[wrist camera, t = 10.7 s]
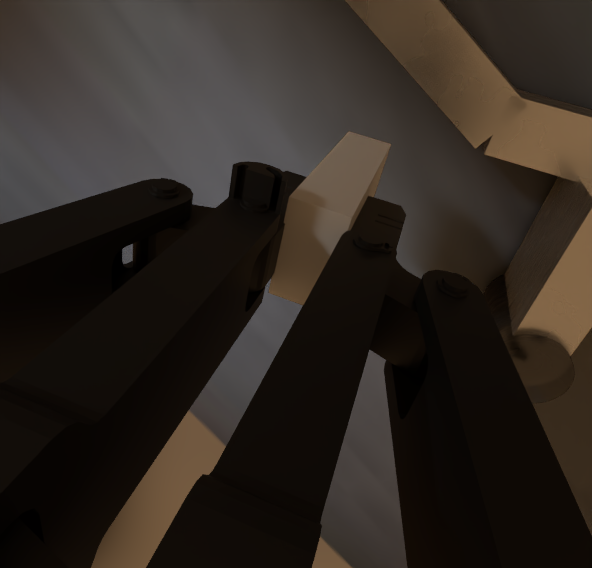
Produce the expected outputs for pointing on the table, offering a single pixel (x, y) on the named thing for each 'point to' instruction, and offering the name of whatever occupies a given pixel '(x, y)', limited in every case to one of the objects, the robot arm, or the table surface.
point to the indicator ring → (520, 150)
